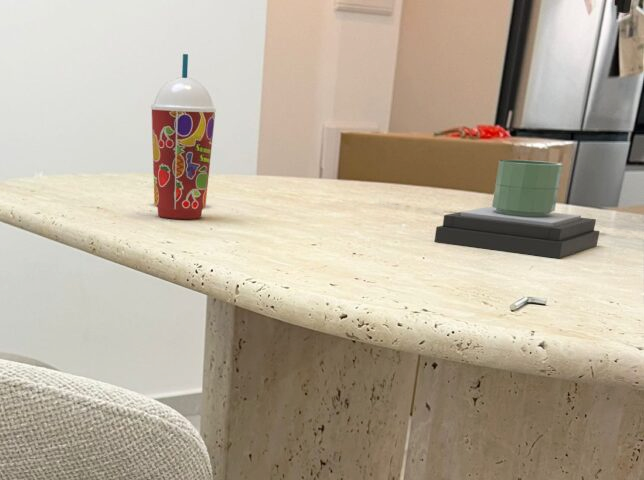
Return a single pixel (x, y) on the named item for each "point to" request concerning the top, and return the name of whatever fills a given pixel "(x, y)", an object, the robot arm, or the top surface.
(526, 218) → the pan
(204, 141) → the smoothie
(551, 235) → the scale
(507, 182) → the green stacked cylinder
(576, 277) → the top surface
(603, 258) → the top surface
